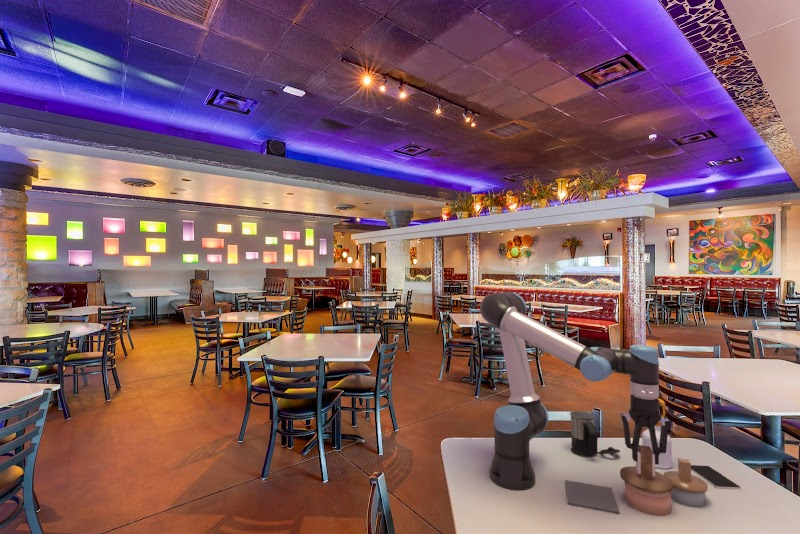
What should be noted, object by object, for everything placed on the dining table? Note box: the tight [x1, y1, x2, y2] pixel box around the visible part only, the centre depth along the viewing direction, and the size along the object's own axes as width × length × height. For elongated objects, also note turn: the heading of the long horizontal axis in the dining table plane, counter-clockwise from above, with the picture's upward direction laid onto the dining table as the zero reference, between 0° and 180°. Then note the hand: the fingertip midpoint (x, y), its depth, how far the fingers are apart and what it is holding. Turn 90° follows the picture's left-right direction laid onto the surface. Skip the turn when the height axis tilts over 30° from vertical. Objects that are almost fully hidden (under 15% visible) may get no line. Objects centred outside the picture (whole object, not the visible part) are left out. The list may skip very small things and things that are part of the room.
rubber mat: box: [564, 479, 620, 515], centre depth 120 cm, size 14×14×1 cm
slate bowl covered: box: [663, 457, 708, 508], centre depth 119 cm, size 11×11×11 cm
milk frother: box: [569, 410, 621, 458], centre depth 150 cm, size 14×16×15 cm
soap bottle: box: [641, 397, 673, 470], centre depth 142 cm, size 9×9×25 cm
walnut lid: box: [619, 444, 673, 493], centre depth 117 cm, size 14×14×10 cm
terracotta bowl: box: [624, 481, 672, 517], centre depth 116 cm, size 12×12×5 cm
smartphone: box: [691, 464, 742, 490], centre depth 131 cm, size 8×1×15 cm
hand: (645, 472), depth 117 cm, fingers closed on walnut lid, 3 cm apart
